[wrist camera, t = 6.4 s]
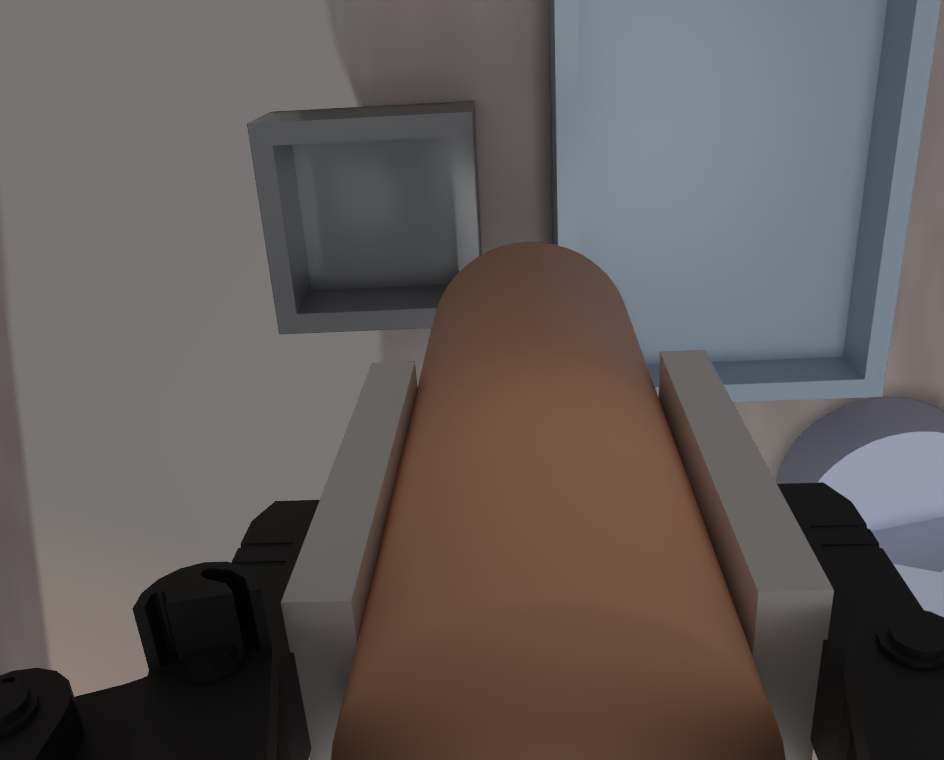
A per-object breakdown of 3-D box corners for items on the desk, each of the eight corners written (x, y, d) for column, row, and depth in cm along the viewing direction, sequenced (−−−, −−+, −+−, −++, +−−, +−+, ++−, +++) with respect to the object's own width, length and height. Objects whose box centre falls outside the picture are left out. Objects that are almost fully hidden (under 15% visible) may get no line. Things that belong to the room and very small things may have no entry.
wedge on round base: (979, 609, 43) (969, 376, 38) (1060, 712, 37) (1061, 450, 32) (795, 643, 44) (762, 422, 39) (844, 748, 38) (812, 501, 33)
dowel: (439, 428, 20) (357, 932, 9) (425, 247, 19) (301, 606, 8) (628, 422, 20) (766, 932, 9) (631, 237, 18) (808, 597, 7)
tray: (555, 379, 38) (560, 408, 36) (548, -78, 31) (553, -85, 28) (854, 368, 38) (882, 396, 35) (916, -101, 31) (957, -111, 28)
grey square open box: (298, 304, 37) (279, 334, 34) (271, 111, 34) (246, 123, 31) (483, 296, 37) (482, 325, 34) (474, 100, 34) (471, 111, 30)
